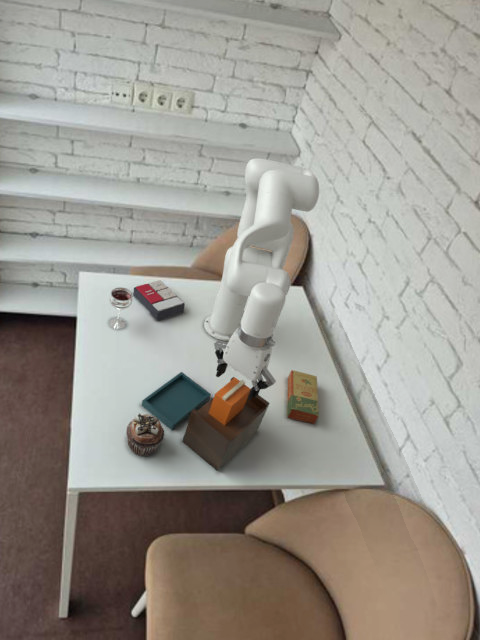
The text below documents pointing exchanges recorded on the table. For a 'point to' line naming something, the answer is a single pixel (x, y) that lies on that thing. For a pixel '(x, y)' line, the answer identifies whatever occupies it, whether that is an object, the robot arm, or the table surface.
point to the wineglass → (120, 304)
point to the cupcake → (144, 434)
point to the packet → (229, 401)
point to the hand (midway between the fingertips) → (235, 385)
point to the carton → (302, 397)
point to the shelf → (223, 431)
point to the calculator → (159, 300)
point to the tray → (176, 400)
